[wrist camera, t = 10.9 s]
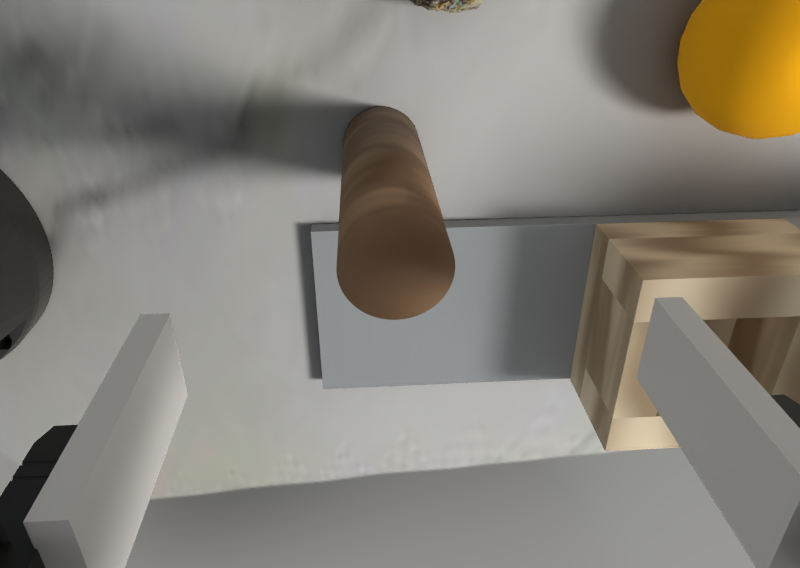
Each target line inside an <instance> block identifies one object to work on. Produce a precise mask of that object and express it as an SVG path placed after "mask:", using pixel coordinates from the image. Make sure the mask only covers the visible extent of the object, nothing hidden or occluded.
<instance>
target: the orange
mask: <svg viewBox="0 0 800 568" xmlns="http://www.w3.org/2000/svg"><path fill="white" fill-rule="evenodd" d="M677 67H678V73H679V79H680V85H681V91H682V92H683V94H684V96H685V97H686V99H687V101H688V102H689V104H690V105H691V107H692V109H693V110H694V111H695V113H696V114H697V115H699V116H700V117H701V118H703V119H704V120H706V121H707V122H708V123H710V124H711V125H713V126H714V127H716V128H717V129H719V130H721V131H724V132H728V133H732V134H736V135H739V136H743V137H747V138H752V139H762V138H772V137H781V136H789V135H794V134H796V133H799V132H800V0H702V1H701V3H700V4H699V5H698V6H697V8H696V9H695V10H694V12H693V13H692V14H691V16H690V19H689V21H688V23H687V26H686V28H685V30H684V33H683V35H682V37H681V40H680V47H679V54H678V60H677Z"/></svg>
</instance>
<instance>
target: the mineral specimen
mask: <svg viewBox="0 0 800 568" xmlns="http://www.w3.org/2000/svg"><path fill="white" fill-rule="evenodd" d="M410 1H411V2H412V3H413V4H414V5H419V6H423V7H425V8H426V9H428V10H433V9H434V10H436V11H439V10H444V11H447V12H454V13H459V12H460V11H464V10H471V9H477V8H478V7H479V5H480V4H481V3H482V1H483V0H410Z"/></svg>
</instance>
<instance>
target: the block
mask: <svg viewBox="0 0 800 568" xmlns="http://www.w3.org/2000/svg"><path fill="white" fill-rule="evenodd" d="M666 297H683V298H684V300H685V301H686V302H687V303H688V304H689V305H690V306H691V307H692V308H693V310H694V311H695V312H696V313H697V314H698V315H699V316H700V317H701V319H702V320H703V321H704V322H705V323H706V324H707V325H708V326H709V328H710V329H711V330H712V331H713V332H714V333H715V334H716V335H717V336H718V338H719V339H720V340H721V341H722V342H723V343H724V344H725V345H726V347H727V348H728V349H729V350H730V351H731V352H732V353H733V354H734V355H735V357H736V358H737V359H738V360H739V361H740V362H741V363H742V364H743V366H744V367H745V368H746V369H747V370H748V371H749V372H750V373H751V374H752V376H753V377H754V378H755V379H756V380H757V381H758V382H759V383H760V385H761V386H762V387H763V388H764V389H765V390H766V391H767V392H768V393H769V395H782V394H784V395H786V396H787V397H789V398H790V399H792V400H793V401H795V402H797V403H798V404H800V229H799V228H798V227H796V226H795V225H793V224H792V223H790V222H789V221H787V220H786V219H784V218H778V219H744V220H709V221H675V222H641V223H607V224H596V228H595V234H594V240H593V245H592V251H591V257H590V263H589V269H588V275H587V281H586V287H585V293H584V299H583V305H582V310H581V316H580V322H579V328H578V334H577V340H576V346H575V352H574V358H573V364H572V370H571V375H570V380H571V382H572V384H573V386H574V388H575V390H576V392H577V394H578V396H579V398H580V400H581V402H582V404H583V406H584V409H585V411H586V413H587V415H588V417H589V419H590V421H591V423H592V425H593V427H594V429H595V431H596V433H597V435H598V437H599V439H600V441H601V443H602V445H603V448H604V450H605V451H619V450H639V449H659V448H677V447H680V446H679V444H678V443H677V441H676V440H675V438H674V437H673V435H672V433H671V432H670V430H669V429H668V427H667V425H666V424H665V422H664V421H663V419H662V417H661V416H660V414H659V413H658V411H657V410H656V408H655V406H654V405H653V403H652V402H651V400H650V398H649V397H648V395H647V394H646V392H645V390H644V389H643V387H642V386H641V384H640V383H639V381H638V379H637V378H636V377H637V373H638V368H639V364H640V360H641V356H642V351H643V347H644V343H645V339H646V334H647V330H648V326H649V322H650V317H651V313H652V309H653V305H654V300H655V298H666Z"/></svg>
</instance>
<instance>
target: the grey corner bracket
mask: <svg viewBox="0 0 800 568" xmlns="http://www.w3.org/2000/svg"><path fill="white" fill-rule="evenodd" d="M778 218H784V219H786V220H787V221H789V222H790V223H792V224H793V225H795V226H796V227H798V228H799V229H800V210H796V211H761V212H726V213H691V214H656V215H621V216H586V217H551V218H516V219H481V220H446V221H444V223H445V227H446V230H447V233H448V237H449V240H450V243H451V246H452V250H453V253H454V258H455V274H454V278H453V282H452V284H451V287H450V289H449V290H448V292H447V294H446V295H445V296H444V297H443V299H442V300H441V301H440V302H439V303H438V304H437V305H435V306H434V307H433V308H431V309H430V310H428V311H426V312H425V313H423V314H420V315H418V316H415V317H412V318H407V319H401V320H387V319H381V318H377V317H373V316H371V315H368V314H366V313H364V312H362V311H360V310H359V309H358V308H356V307H355V306H354V305H353V304H352V303H350V301H349V300H348V299H347V298H346V297H345V295H344V294H343V292H342V290H341V288H340V286H339V283H338V279H337V272H336V267H337V248H338V231H339V224H312V226H311V242H312V254H313V267H314V280H315V292H316V305H317V317H318V330H319V343H320V355H321V368H322V380H323V389H335V388H358V387H380V386H403V385H426V384H449V383H472V382H494V381H517V380H540V379H563V378H570V375H571V370H572V364H573V358H574V352H575V346H576V340H577V334H578V328H579V322H580V316H581V310H582V305H583V299H584V293H585V287H586V281H587V275H588V269H589V263H590V257H591V251H592V245H593V240H594V234H595V228H596V224H607V223H641V222H675V221H709V220H744V219H778Z"/></svg>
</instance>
